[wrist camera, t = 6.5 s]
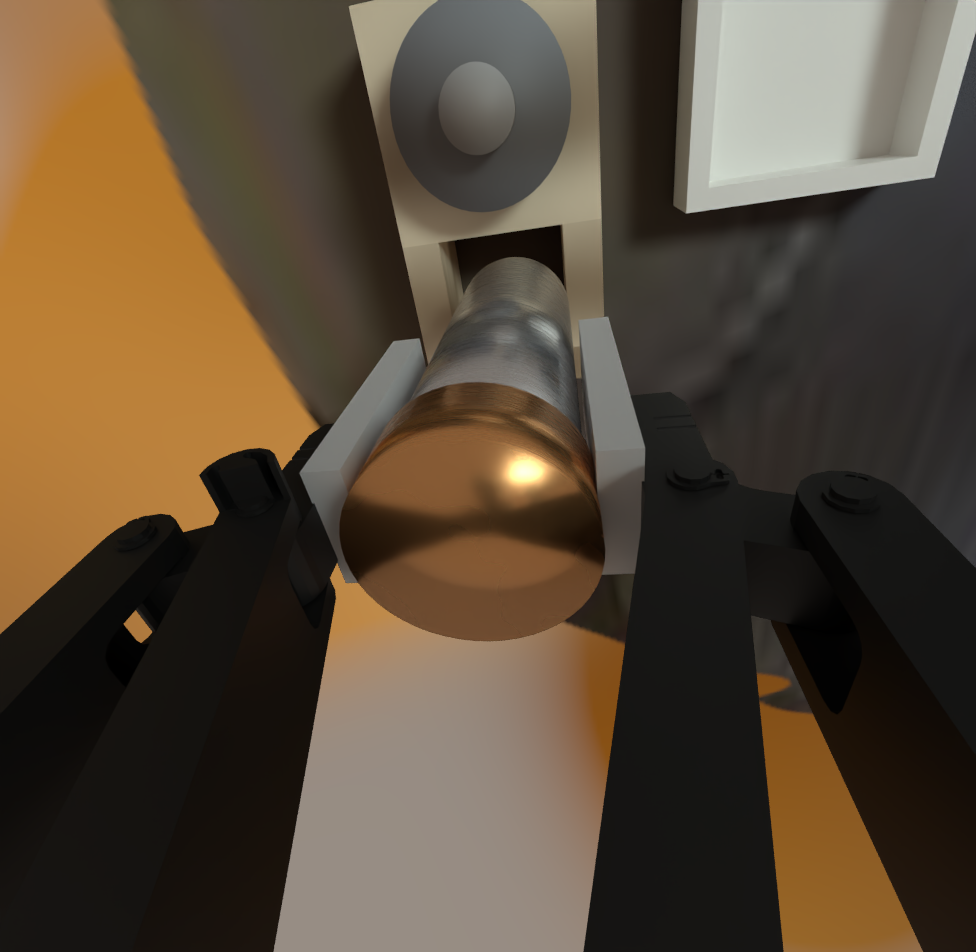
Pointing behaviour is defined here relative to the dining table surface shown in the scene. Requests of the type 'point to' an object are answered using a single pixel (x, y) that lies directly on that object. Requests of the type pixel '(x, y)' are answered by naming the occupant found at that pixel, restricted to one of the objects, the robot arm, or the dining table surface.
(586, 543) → the pin
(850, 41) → the tray
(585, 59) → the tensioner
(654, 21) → the dining table surface
